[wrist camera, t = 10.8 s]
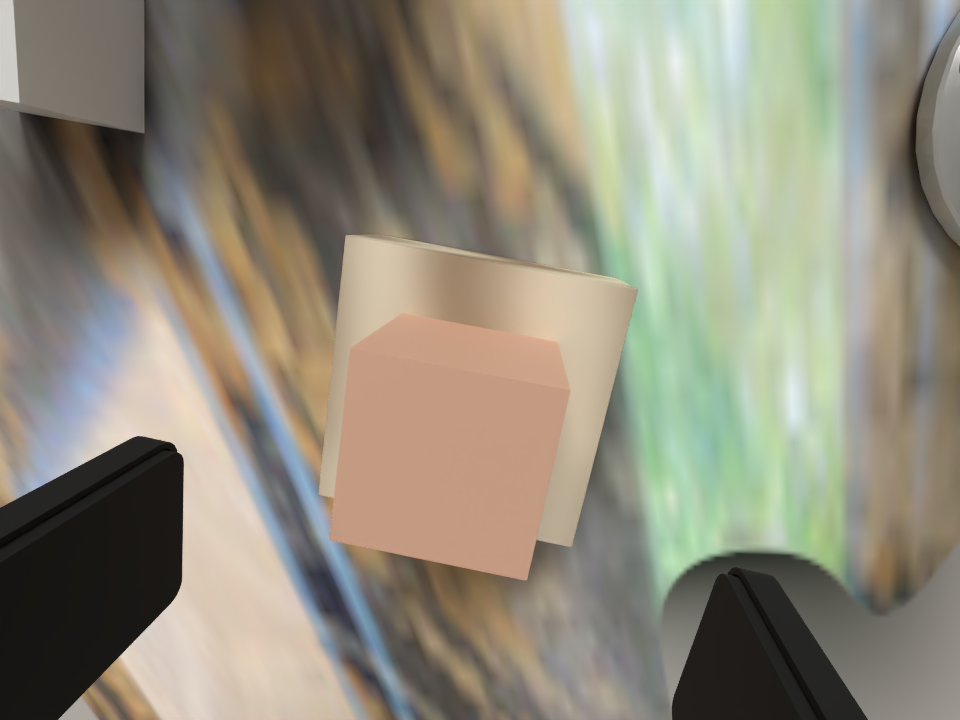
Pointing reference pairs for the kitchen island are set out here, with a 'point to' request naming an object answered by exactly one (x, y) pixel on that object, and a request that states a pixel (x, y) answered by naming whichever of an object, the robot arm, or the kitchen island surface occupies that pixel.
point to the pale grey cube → (74, 60)
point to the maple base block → (498, 306)
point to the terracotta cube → (449, 443)
